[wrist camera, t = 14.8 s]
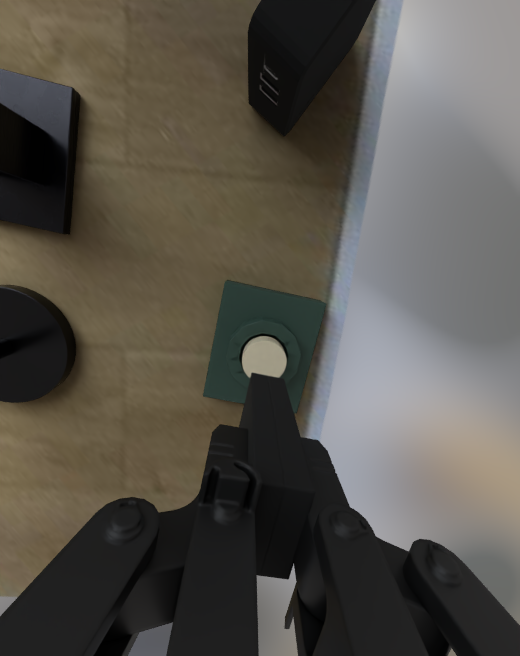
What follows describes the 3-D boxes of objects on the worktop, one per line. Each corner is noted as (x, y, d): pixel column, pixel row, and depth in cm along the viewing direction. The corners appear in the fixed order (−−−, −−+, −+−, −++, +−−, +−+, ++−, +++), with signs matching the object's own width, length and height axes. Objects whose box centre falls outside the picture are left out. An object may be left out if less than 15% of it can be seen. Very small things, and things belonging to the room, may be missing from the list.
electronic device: (247, 107, 26) (246, 19, 17) (321, 2, 25) (367, -162, 15) (283, 140, 27) (302, 74, 17) (357, 40, 26) (422, -93, 16)
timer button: (247, 331, 28) (247, 336, 26) (288, 340, 28) (291, 345, 26) (238, 371, 28) (238, 378, 27) (279, 379, 29) (280, 386, 27)
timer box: (226, 279, 30) (223, 283, 26) (321, 300, 31) (331, 306, 27) (205, 387, 32) (199, 404, 29) (293, 403, 33) (299, 423, 29)
